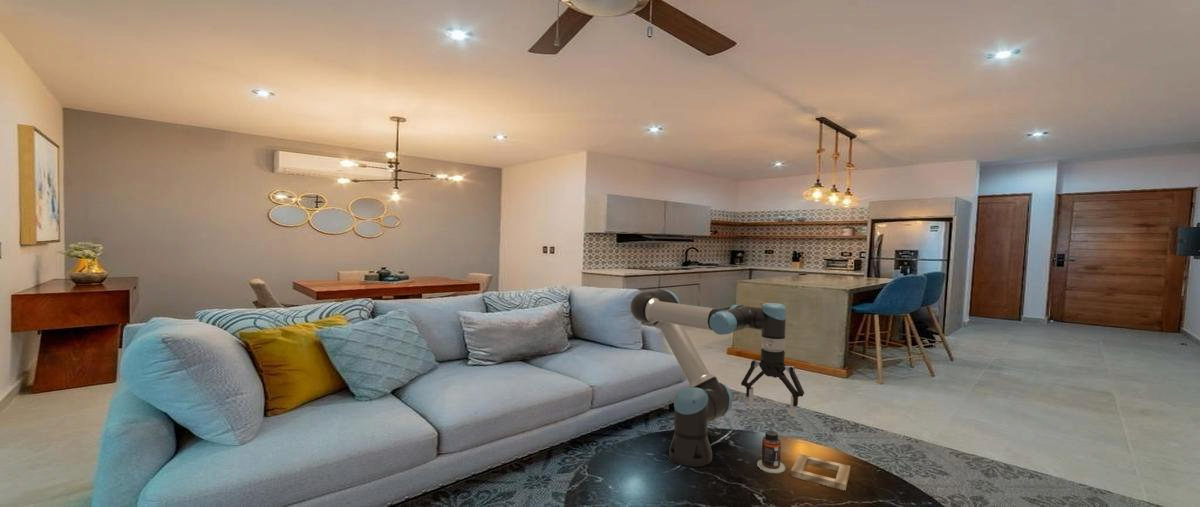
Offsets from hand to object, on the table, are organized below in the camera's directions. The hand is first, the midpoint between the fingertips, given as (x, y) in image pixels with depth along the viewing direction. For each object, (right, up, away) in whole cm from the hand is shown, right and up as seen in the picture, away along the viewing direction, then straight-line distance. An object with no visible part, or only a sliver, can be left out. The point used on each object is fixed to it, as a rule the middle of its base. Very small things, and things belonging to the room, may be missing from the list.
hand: (771, 410), depth 162 cm
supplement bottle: (0, -19, +1) cm, 19 cm away
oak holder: (+15, -20, -4) cm, 25 cm away
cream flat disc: (0, -19, +1) cm, 19 cm away
